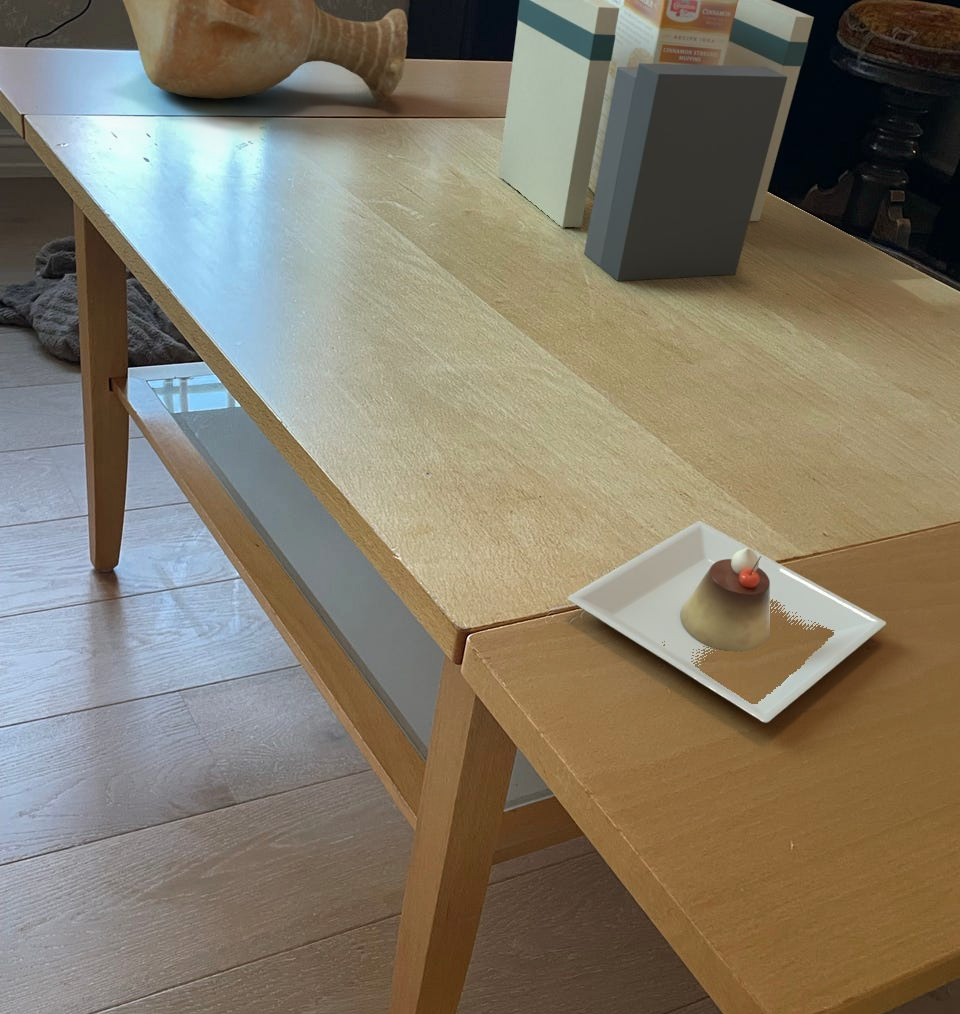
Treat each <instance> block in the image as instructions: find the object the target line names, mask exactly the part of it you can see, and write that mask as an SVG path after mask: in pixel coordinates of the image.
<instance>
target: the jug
mask: <svg viewBox="0 0 960 1014" xmlns="http://www.w3.org/2000/svg"><path fill="white" fill-rule="evenodd" d="M122 2H123V4H124V7H125V9H126V11H127V14H128V18H129V21H130V25H131V28H132V32H133V35H134V38H135V41H136V44H137V48H138V49H137V50H138V53H139V56H140V61H141V63H142V67H143V70H144V72H145V74H146V76H147V77H146V78H148V80H149V81H150V82H151V84H152V85H154V86H155V87H158V88H159V89H161V90H163V91H164V92H168V93H173V94H176V95H180V96H184V97H187V98H188V97H189V98H198V99H216V100H221V99H222V100H223V99H229V98H231V99H233V98H241V97H247V96H252V95H256V94H260V93H264V92H266V91H268V90H270V89H272V88H274V87H276V86H277V85H279V84H280V83H282V82H283V81H285V80H286V79H288V78H289V77H290V76H291V75H292V74H293V73H294V72H295V71H296V70H297V69H298V68H300V66H302V65H304V64H306V63H312V62H325V63H329V64H334V65H335V66H339V67H341V68H343V69H344V70H346V71H349V72H350V73H352V74H354V75H356V76H358V77H359V78H360V79H362V81H363V82H364V84H365V85H366V86H367V87H368V90H369V92H370V95H371V96H373V97H372V98H373V99H374V100H375V101H376V100H377V101H376V102H379V103H383V102H385V101H387V99H389V97H390V96H391V95H392V94H393V93H394V92H395V90H396V89H397V87H398V85H399V83H400V81H401V80H402V78H403V75H404V70H405V64H406V57H407V47H408V30H409V26H408V19H407V15H406V13H405V11H404V10H403V9H401V8H394V9H391V10H390V11H389V12H387V13H386V14H385V15H384V16H383V17H382V19H379V20H376V21H355V20H348V19H344V18H340V17H336V16H334V15H333V14H330V13H328V12H325V11H324V10H322V9H320V8H319V7H318V6H317V4H316V2H315V1H314V0H122Z"/></svg>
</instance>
